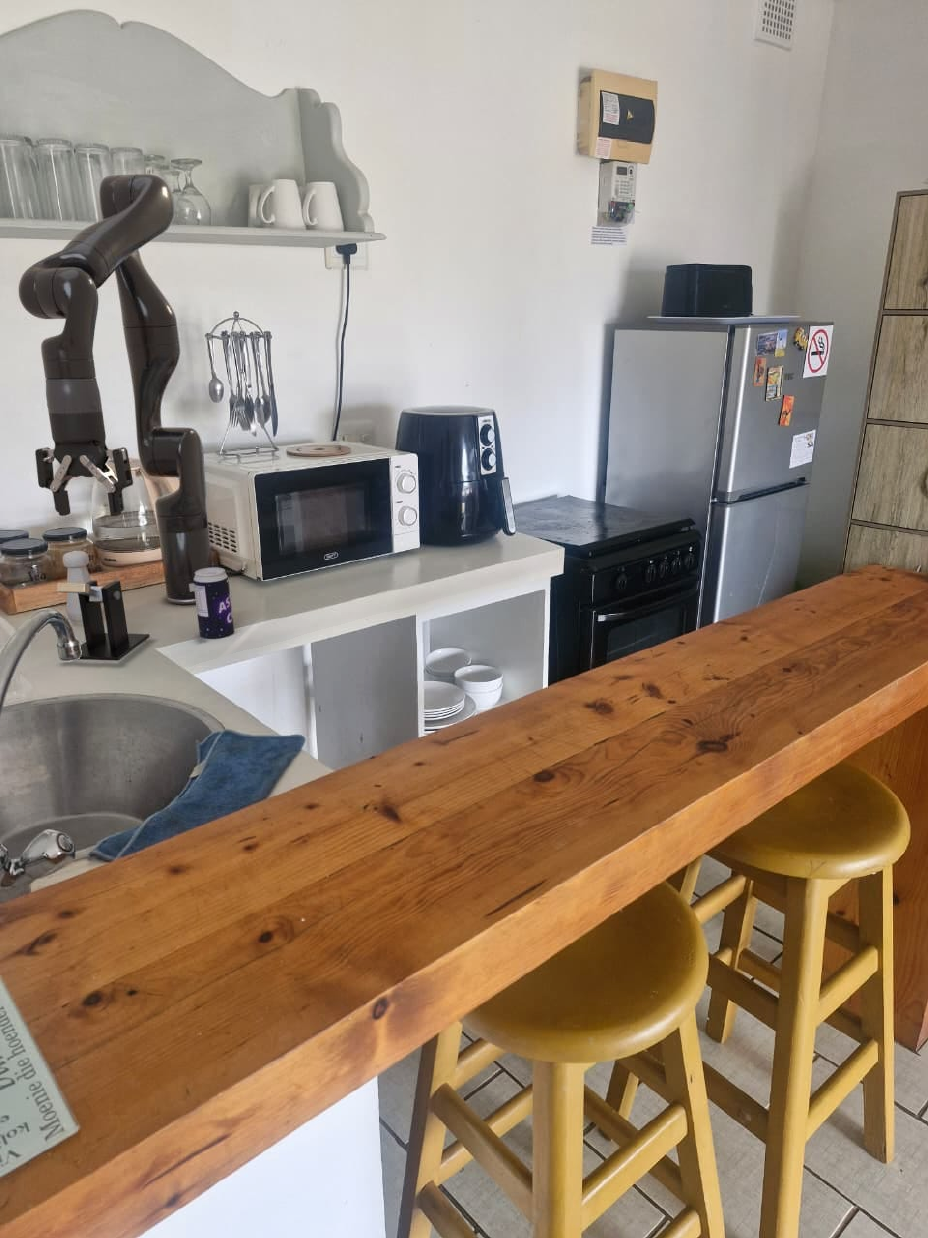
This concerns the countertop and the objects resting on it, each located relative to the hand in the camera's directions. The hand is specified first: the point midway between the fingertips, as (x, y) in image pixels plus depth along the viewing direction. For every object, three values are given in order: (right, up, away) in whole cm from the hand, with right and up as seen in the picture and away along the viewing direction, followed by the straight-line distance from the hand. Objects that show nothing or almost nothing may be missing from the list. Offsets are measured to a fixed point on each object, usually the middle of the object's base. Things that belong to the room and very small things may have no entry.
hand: (90, 515), depth 136 cm
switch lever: (-1, -13, +1) cm, 13 cm away
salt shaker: (-11, -17, +23) cm, 31 cm away
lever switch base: (0, -22, +8) cm, 23 cm away
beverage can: (+16, -20, +14) cm, 29 cm away
